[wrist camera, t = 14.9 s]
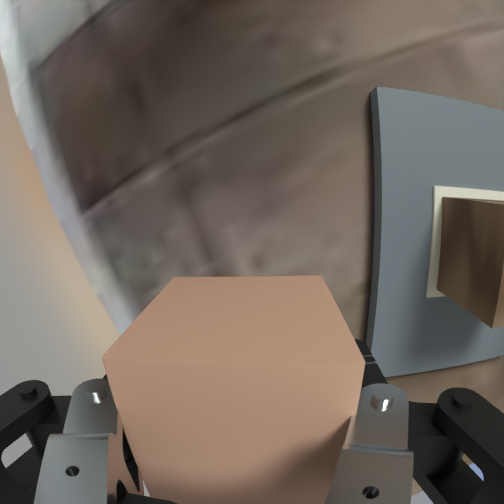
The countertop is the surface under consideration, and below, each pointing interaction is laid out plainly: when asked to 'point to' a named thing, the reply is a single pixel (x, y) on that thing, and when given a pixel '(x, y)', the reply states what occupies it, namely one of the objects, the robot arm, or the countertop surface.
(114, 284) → the countertop surface
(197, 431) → the terracotta block
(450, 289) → the walnut block
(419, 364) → the slate board
